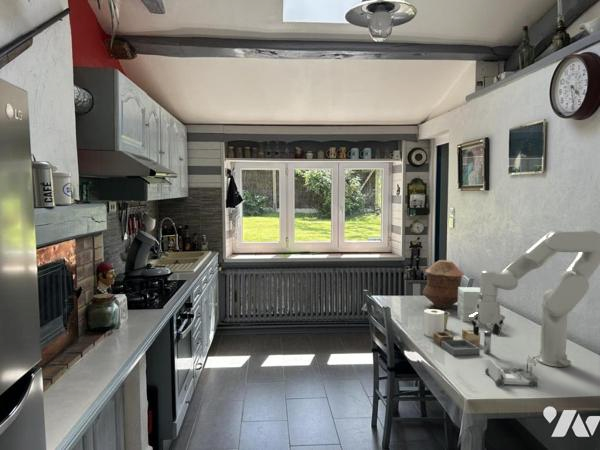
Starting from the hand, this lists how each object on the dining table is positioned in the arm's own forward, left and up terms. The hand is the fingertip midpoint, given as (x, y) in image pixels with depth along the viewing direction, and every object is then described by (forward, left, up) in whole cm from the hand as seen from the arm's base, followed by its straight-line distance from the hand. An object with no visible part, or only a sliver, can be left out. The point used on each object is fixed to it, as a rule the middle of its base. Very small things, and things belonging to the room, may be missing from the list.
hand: (485, 334), depth 201 cm
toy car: (-29, +6, -9) cm, 31 cm away
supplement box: (+53, -24, -9) cm, 58 cm away
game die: (+29, -23, -9) cm, 38 cm away
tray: (+4, +10, -9) cm, 14 cm away
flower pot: (+38, +3, -9) cm, 39 cm away
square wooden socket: (+15, +13, -9) cm, 21 cm away
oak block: (+14, -1, -9) cm, 16 cm away
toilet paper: (+29, +11, -9) cm, 32 cm away
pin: (0, -1, -9) cm, 9 cm away
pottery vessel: (+82, -21, -9) cm, 85 cm away
